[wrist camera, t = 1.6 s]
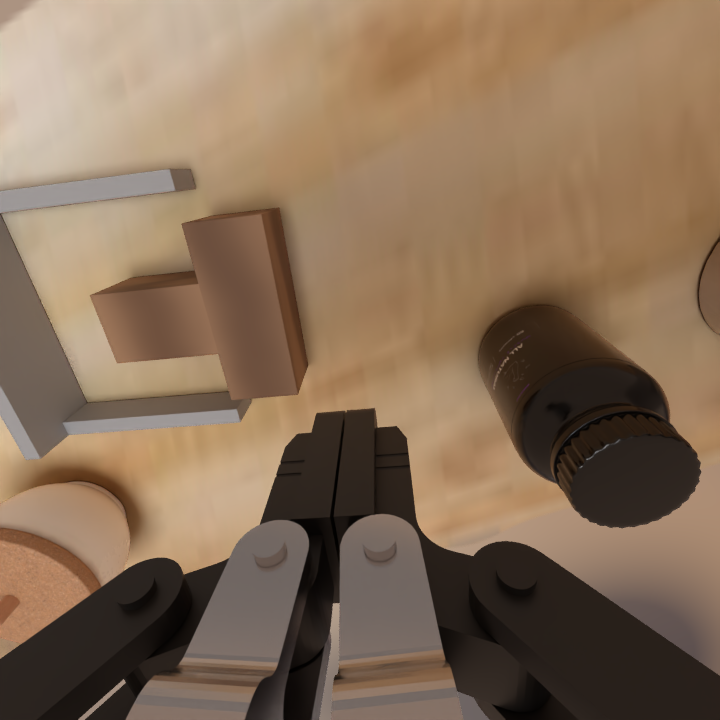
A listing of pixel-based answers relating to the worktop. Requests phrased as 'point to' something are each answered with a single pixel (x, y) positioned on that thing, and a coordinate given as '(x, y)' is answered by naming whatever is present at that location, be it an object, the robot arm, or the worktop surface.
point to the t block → (217, 307)
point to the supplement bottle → (587, 418)
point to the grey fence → (45, 355)
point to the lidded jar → (56, 552)
